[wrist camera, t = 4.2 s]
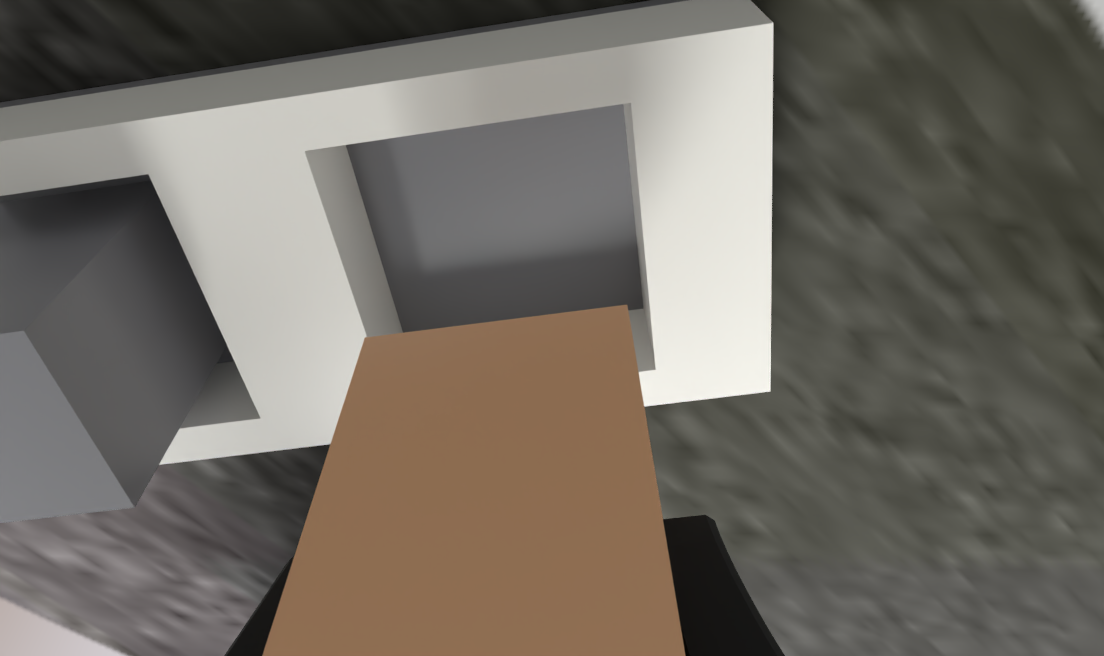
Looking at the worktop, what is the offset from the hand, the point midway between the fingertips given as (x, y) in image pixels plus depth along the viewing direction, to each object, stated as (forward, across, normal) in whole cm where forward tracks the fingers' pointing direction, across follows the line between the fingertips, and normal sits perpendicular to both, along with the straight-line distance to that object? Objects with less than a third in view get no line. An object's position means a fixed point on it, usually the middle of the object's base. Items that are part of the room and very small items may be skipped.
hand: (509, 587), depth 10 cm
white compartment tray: (+10, +5, 0) cm, 11 cm away
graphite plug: (+10, +9, 0) cm, 14 cm away
